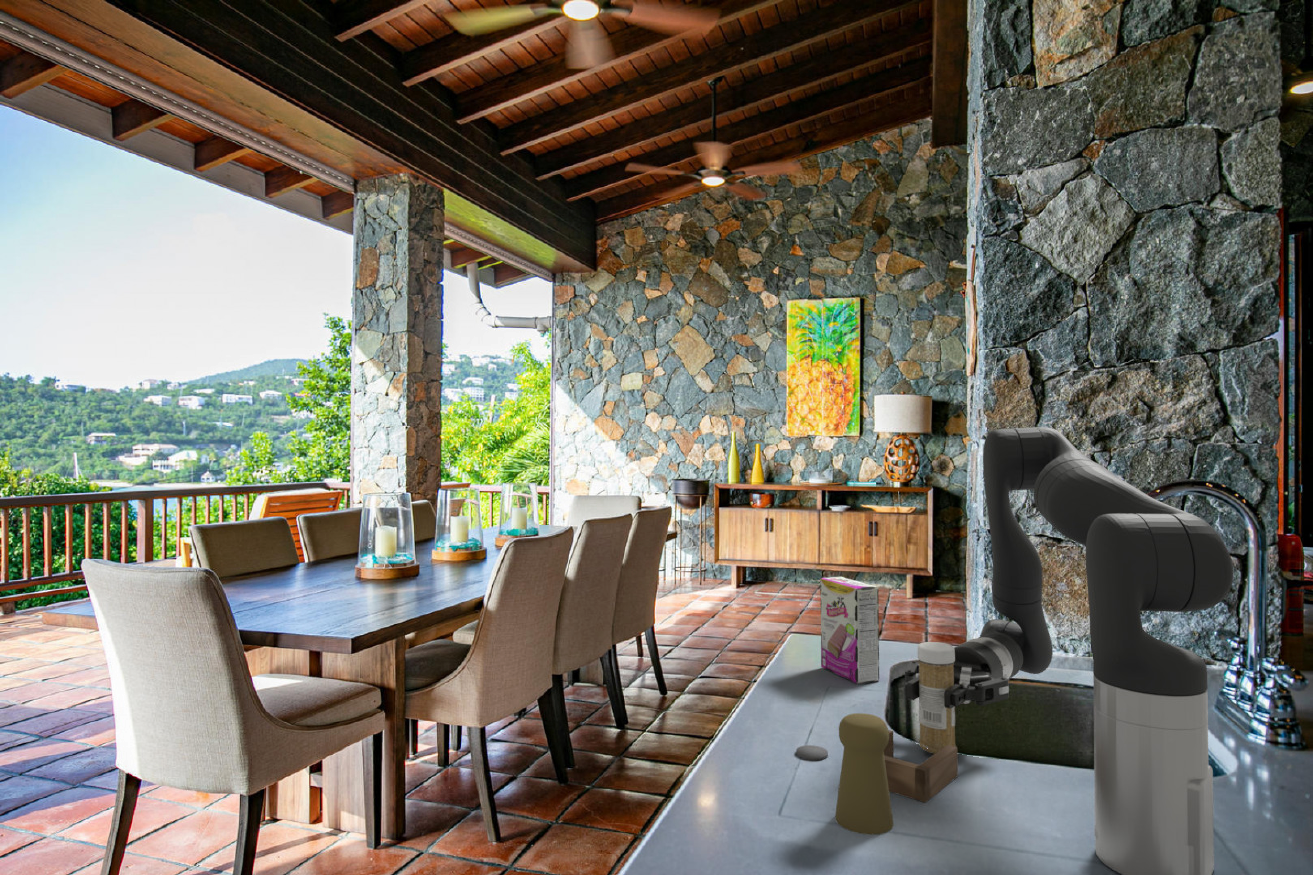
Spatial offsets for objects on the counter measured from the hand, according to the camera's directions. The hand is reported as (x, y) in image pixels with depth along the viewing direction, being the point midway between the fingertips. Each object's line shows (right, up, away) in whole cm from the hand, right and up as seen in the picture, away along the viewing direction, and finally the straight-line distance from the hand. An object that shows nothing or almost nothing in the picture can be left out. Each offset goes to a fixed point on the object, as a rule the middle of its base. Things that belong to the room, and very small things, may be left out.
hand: (928, 695), depth 99 cm
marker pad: (-14, -8, +2) cm, 17 cm away
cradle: (-5, -8, -5) cm, 11 cm away
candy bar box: (-1, -9, +38) cm, 39 cm away
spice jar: (+2, -8, +2) cm, 8 cm away
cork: (-13, -8, -16) cm, 22 cm away
